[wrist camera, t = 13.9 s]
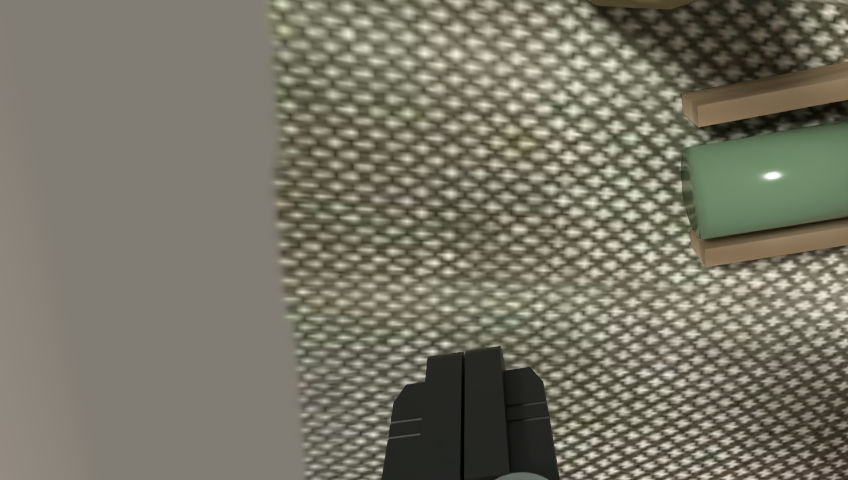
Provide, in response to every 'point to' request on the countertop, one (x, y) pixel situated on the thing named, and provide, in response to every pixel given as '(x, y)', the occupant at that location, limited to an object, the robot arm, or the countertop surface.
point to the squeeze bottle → (643, 3)
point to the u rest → (759, 101)
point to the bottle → (767, 180)
